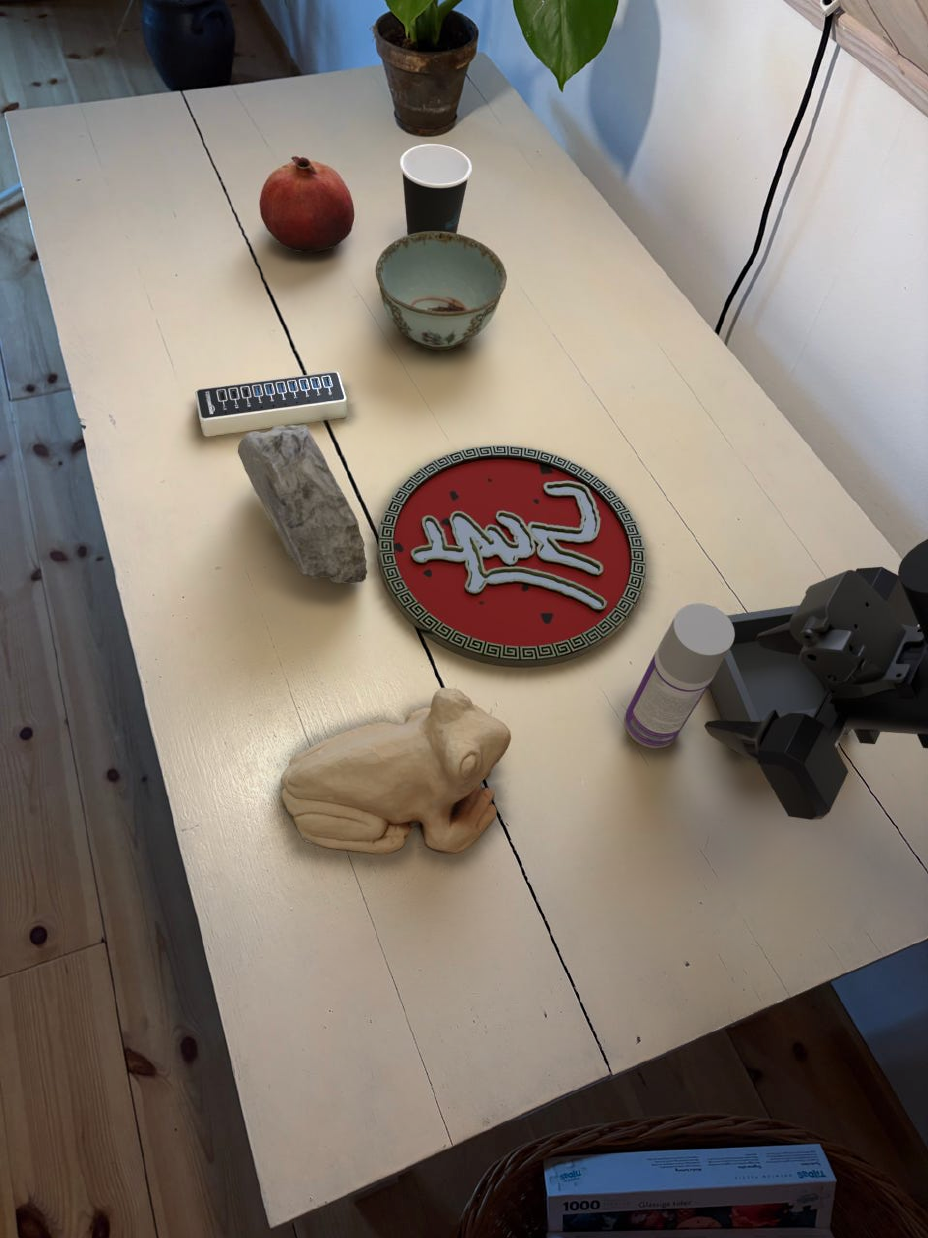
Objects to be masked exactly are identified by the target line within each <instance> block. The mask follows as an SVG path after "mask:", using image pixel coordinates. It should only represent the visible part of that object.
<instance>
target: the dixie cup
mask: <svg viewBox="0 0 928 1238" xmlns="http://www.w3.org/2000/svg"><path fill="white" fill-rule="evenodd" d="M399 168H400V171H401V173H402V184H403V185H402V186H403V196H404V209H405V220H406V235H410V234H414V233H419V232H425V231H440V232H451V233H456V234H458V227H459V224H460V218H461V214H462V209H463V204H464V199H465V195H466V189H467V185H468V180H469V178H470V177H471V174H472V171H473V166H472V162H471V160H470V159H469V157H468V156H467V155H465V154H464V153H463V152H461V151H460V150H458V149H457V148H454V147H451V146H449V145H444V144H437V143H425V144H419V145H416V146H413V147H411V148H409V149H408V150H406V151H405V152H404V153H403V154H402V155H401V157H400V159H399Z"/></svg>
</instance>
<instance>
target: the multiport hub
mask: <svg viewBox="0 0 928 1238" xmlns="http://www.w3.org/2000/svg"><path fill="white" fill-rule="evenodd" d="M194 394H195V395H194V396H195V400H196V407H197V412H198V417H199V422H200V427H201V432H202V435H203V436H204V437H214V436H216V437H217V436H221V435H222V436H223V435H230V434H236V433H237V434H238V433H245V432H253V431H258V430H265V429H272V428H274V427H276V426H285V427H288V426H290V425H294V426H296V425H303V424H309V423H315V422H322V421H328V420H337V419H344V418H346V417H347V416H348V404H347V403H348V401H347V400H348V399H347V395H346V392H345V388H344V384H343V381H342V378H341V374H340V373H339V372H338V371H329V372H321V373H313V374H312V373H311V374H305V375H297V376H289V377H282V378H274V379H265V380H257V381H250V382H242V383H235V384H226V385H218V386H212V387H211V386H210V387H204V388H203V387H202V388H196V390H195V391H194Z"/></svg>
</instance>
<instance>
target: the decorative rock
mask: <svg viewBox="0 0 928 1238" xmlns="http://www.w3.org/2000/svg"><path fill="white" fill-rule="evenodd" d="M237 455H238V457H239V459H240V461H241V464H242V466H243V468H244V471H245V473H246V475H247V476H248V479H249V481H250V483H251V485H252V487H253V490H254V491H255V493H256V495H257V497H258V498H259V500H260V502H261V505H262V507H263V509H264V511H265V512H266V515H267V517H268V518H269V520H270V522H271V524H272V526H273V527H274V529H275V531H276V534H277V535H278V537H279V539H280V541H281V543H282V545H283V548H284V549H285V550H286V553H287V554H288V556H289V558H290V559H292V560H294V561H295V563H296V564H297V567H298V569H299V571H300V572H301V574H303V575H305V576H306V577H308V578H309V579H319V578H322V577H326V578H329V579H330V580H331V582H334V583H338V584H339V583H344V584H347V585H348V584H349V585H350V584H357V583H361V582H364V581H366V580H367V574H368V569H367V562H368V561H367V558H366V552H365V544H366V543H365V541H364V538H363V536H362V534H361V530H360V524H359V520H358V519H357V517H356V515H355V513H354V511H353V509H352V507H351V506H350V504H349V502H348V499H347V497H346V495H345V494H344V492H343V490H342V488H341V487H340V485H339V484H338V482H337V480H336V477H335V476H334V474H333V471H332V470H331V469H330V467H329V465H328V463H327V460H326V457H325V456H324V453H323V452H322V451H321V448H320V447H319V445H318V444H317V441H315V438H314V437H313V436H312V433H311V432H310V429H309V428H308V426H307V425H306V424H299V425H288V426H276V427H273V428H270V430H269V431H266V432H259V431H258V430H253V431H249V433H247V434H246V435H245V436H243V437H242V439H241V440H240V442H239V443H238V444H237Z"/></svg>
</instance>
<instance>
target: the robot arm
mask: <svg viewBox="0 0 928 1238" xmlns="http://www.w3.org/2000/svg"><path fill="white" fill-rule="evenodd" d="M799 605H800V606H799V608H798V609H797V611H796V612H795V613H793V615H792V617H791V619H790V622H789V623H786V624H784V625H781V626H778V627H776V628H773V629H770V630H768V631H765V632H762V633H760V634H758V636H757V637H756V639H757V641H758V643H759V645H760V646H761V647H762V648H766V649H770V650H774V651H778V652H782V653H788V654H795V655H799V659H800V661H801V662H802V663H803V664H804V665H805V666H806V667H807V668H808V669H809V670H810V671H811V672H812V673H813V674H814V675H815V676H816V677H817V678H818V679H819V680H820V681H821V682H822V683H825V685H826V687H827V691H826V693H825V695H824V697H823V698H822V700H821V702H820V704H819V706H818V708H817V710H816V712H815V714H814V716H813V718H812V717H811V716H809V715H807V714H805V713H788V714H786V715H784V716H782V717H779V715H778V713H777V711H776V710H772V712H771V713H770V714H769V715H768V716H767V718H766V719H765V720H764V721H762V722H758V721H731V720H722V719H720V720H719V719H718V720H709V721H706V722H705V723H704V725H703V726H704V729H705V730H706V732H707V734H708V735H709V736H710V737H712V738H714V739H715V740H716V741H718V742H720V743H722V744H723V745H725V746H727V747H728V748H730V749H731V750H733V751H734V752H735V751H736V752H735V753H738V754H739V755H741V756H742V757H744V758H745V759H748V760H749V761H751V762H752V763H754V764H756V766H758V767H759V768H760V769H761V771H762V773H763V775H764V776H765V778H766V780H767V782H768V784H769V785H770V787H771V788H772V790H773V793H774V795H776V797H777V799H778V801H779V803H780V804H781V806H782V808H783V810H784V811H785V813H786V814H787V816H788V817H790V818H797V819H803V820H810V821H813V820H814V821H816V820H817V821H818V820H823V818H825V817H826V816H827V815H828V814H829V813H830V812H831V810H832V809H833V806H834V804H835V802H836V800H837V797H838V795H839V793H840V791H841V789H842V787H843V785H844V782H845V781H846V779H847V776H848V775H849V773H850V772H849V769H848V767H847V766H846V764H845V761H844V760H843V758H842V756H841V754H840V752H839V750H838V748H837V747H838V745H839V743H840V740H842V739H841V738H842V737H843V735H844V734H845V733H844V731H845V728H848V729H851V730H852V731H853V732H854V734H855V736H856V738H857V740H858V742H859V744H865V745H867V744H868V745H876V743H877V741H878V738H879V736H880V734H881V733H893V734H907V735H908V734H909V735H916V736H917V738H918V740H919V742H920V744H921V747H922V749H928V538H927V539H925V540H922V541H921V542H919V543H918V544H917V545H916V546H914V547H913V548H912V549H910V550H909V551H908V552H907V553H906V555H905V556H904V557H903V558H902V559H901V561H900V564H899V565H898V570H897V574H896V573H894V572H893V571H891V570H889V569H888V568H886V567H883V566H873V567H859V568H856V569H855V570H854V569H848V570H845V571H842V572H840V573H837V574H836V575H833V576H831V577H828V578H825V579H822V580H820V581H819V582H815V583H814V584H811V585H809V586H808V588H806V590H805V595H804V596H803V599H802V600H801V603H800V604H799ZM843 733H844V734H843Z"/></svg>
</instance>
